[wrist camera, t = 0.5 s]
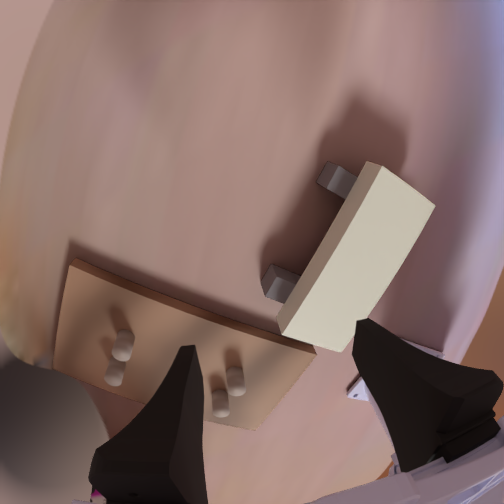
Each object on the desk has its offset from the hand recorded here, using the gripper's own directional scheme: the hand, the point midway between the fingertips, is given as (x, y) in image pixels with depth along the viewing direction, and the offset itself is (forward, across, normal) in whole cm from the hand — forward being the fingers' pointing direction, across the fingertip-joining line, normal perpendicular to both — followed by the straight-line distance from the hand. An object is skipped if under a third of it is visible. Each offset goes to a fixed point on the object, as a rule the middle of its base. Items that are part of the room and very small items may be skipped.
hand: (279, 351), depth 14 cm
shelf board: (+8, -6, 0) cm, 10 cm away
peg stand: (+10, +7, +8) cm, 14 cm away
